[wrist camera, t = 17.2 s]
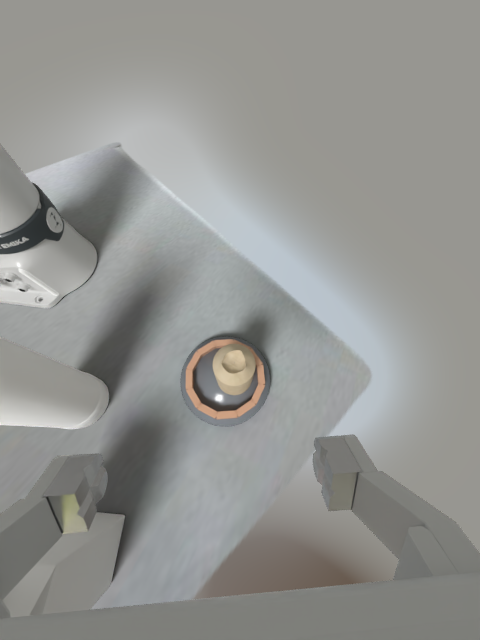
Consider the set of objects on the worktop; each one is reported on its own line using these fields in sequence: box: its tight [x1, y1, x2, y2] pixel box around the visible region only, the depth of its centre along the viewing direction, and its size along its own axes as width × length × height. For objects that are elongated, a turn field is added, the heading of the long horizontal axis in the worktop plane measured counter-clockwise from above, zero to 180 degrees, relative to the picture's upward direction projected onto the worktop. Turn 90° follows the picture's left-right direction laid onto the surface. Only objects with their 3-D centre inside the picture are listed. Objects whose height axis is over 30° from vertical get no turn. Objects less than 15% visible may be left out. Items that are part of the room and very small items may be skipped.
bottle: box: [0, 337, 109, 429], centre depth 27 cm, size 8×8×30 cm
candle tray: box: [181, 336, 270, 426], centre depth 41 cm, size 14×14×2 cm
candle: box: [213, 344, 256, 395], centre depth 37 cm, size 6×6×10 cm
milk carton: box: [2, 512, 125, 617], centre depth 25 cm, size 7×7×19 cm
